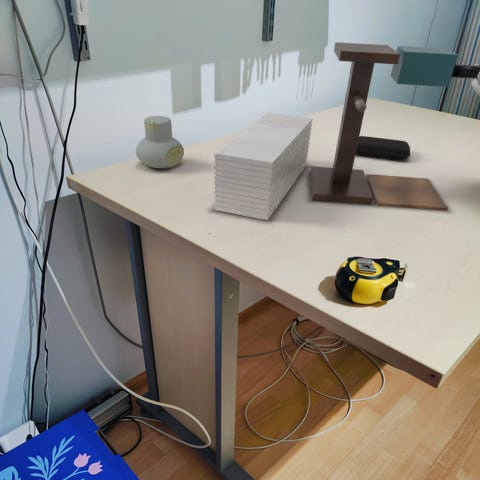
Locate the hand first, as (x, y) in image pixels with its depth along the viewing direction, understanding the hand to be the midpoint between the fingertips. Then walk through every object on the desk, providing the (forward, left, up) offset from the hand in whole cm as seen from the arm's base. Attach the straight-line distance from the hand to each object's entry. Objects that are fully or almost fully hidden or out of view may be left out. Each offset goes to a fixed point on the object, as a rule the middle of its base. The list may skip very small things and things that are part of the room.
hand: (476, 69), depth 77 cm
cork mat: (+7, 0, -24) cm, 25 cm away
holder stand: (+21, 0, -24) cm, 31 cm away
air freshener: (+62, -6, -24) cm, 66 cm away
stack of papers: (+37, +2, -24) cm, 44 cm away
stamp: (+5, 0, -2) cm, 6 cm away
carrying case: (+8, -26, -24) cm, 36 cm away
